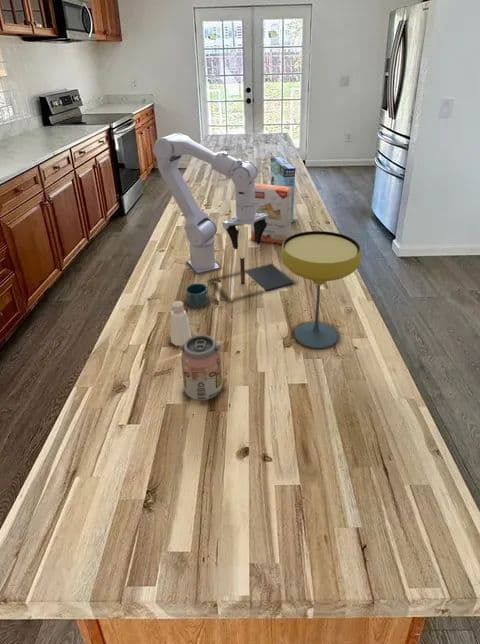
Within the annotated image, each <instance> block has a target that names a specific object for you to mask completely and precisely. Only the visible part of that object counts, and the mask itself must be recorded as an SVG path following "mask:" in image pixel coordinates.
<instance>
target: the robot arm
mask: <svg viewBox="0 0 480 644" xmlns="http://www.w3.org/2000/svg"><path fill="white" fill-rule="evenodd" d="M152 153H153V155H154V156H155V159H156V163H157V168H158V171H159V173H160V175H161V177H162V178H163V180H164V182H165V184H166V186H167V188H168V189H169V192H170V193H171V195H172V196H173V198H174V200H175V202H176V204H177V206H178V207H179V209H180V212H181V214H182V215H183V217H184V218H185V222H184V226H183V228H184V230H185V233H186V239H187V241H188V243H189V245H188V246H189V247H188V248H189V257H190V258H189V259H190V260H188V261H187V263H188V264H189V265H190V268H192V269H193V270H194V271H195V272H196V273H197V274H199V273H204V272H207V271H211V270H216V269H219V268H220V265H219V264H218V263H217V262H216V257H215V256H216V255H215V235H216V234H217V231H218V226H217V224H216V222H215V221H214V220H212V219H211V217H210V216H209V214H207V213H206V212H203V211H202V210H201V209H200V207H199V205H198V203H197V201H196V199H195V197H194V196H193V193H192V192H191V190H190V188H189V186H188V184H187V182H186V181H185V179H184V177H183V174H181V171H180V170H179V168H178V167H179V163H180V160H181V158H182V157H183V156H184V155H188V156H190V157H192V158H196V159H198V160H200V161H203V162H204V163H208V164H209V165H210V166H211V169H212V170H213V171H214V172H217V173H219V174H221V175H223V176H224V177H227V178H229V179H231V181H232V182H233V184H234V187H235V189H234V190H235V191H234V192H235V216H234V217H231V218H229V219H226V220H222V228H223V229H224V230H226V232H227V234H228V236H229V238H230V241H231V245H232V248H233V249H234V250H238V248H239V241H238V239H239V232H240V230H238V229H237V227H239V226H244V225H250V226H251V224H253V225H254V239H255V240H254V243H256V244H257V245H260V244H261V241H260V240H261V237H262V234H263V232H264V230H265V228H266V226H267V223H266V222H265V221H268V214H266V213H259V214H255V184H256V182H255V180H256V178H257V177H258V173H259V172H258V168H257V166H256V165H255V164H254V163H253V162H252V161H243V159H240V158H238V159H237V158H235V157H233V156H231V155H229V152H227V151H218V152H215V151H212V150H210V149H208V148H206V147H205V146H203V145H201V144H200V143H198V142H196V141H194V140H192V139H191V138H190V137H189V136H188V135H185V134H182V133H181V132H174V133H172V134H169V135H167V136H164V137H159V138H157V139H156V140H155V141H154V145H153V148H152Z"/></svg>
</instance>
